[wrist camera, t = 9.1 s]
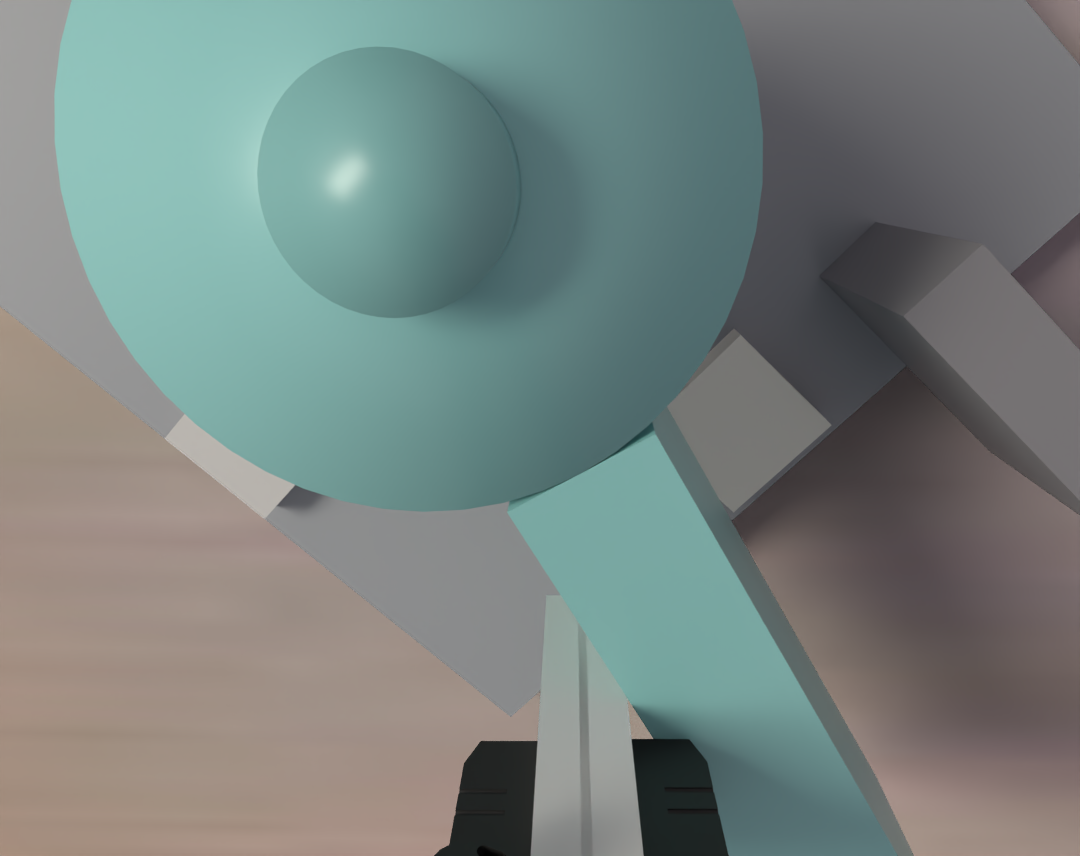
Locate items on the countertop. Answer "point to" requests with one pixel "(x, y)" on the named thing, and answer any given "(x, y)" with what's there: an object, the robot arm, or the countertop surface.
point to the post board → (755, 317)
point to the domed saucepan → (473, 312)
